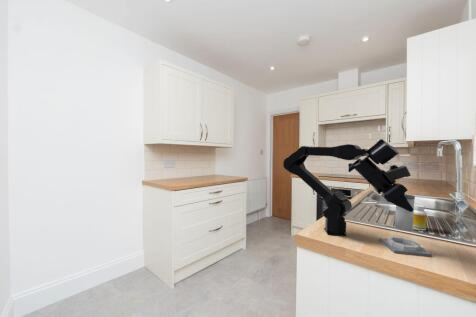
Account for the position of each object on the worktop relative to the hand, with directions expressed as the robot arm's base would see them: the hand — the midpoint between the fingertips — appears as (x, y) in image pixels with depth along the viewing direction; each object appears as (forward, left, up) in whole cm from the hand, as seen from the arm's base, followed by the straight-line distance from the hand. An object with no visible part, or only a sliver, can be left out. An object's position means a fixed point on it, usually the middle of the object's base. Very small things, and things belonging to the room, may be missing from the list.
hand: (409, 209), depth 68 cm
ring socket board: (-1, 0, -13) cm, 13 cm away
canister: (-1, 0, -7) cm, 7 cm away
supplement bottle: (+16, +23, -13) cm, 31 cm away
